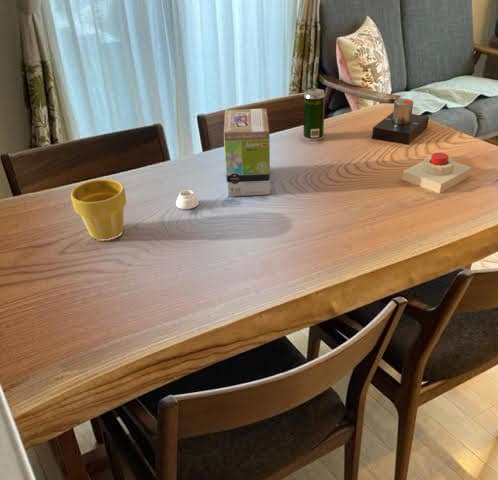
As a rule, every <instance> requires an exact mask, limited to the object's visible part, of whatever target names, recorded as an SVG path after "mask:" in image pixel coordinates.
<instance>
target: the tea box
mask: <svg viewBox="0 0 498 480" xmlns="http://www.w3.org/2000/svg"><path fill="white" fill-rule="evenodd" d="M270 144H271V143H270V126H269V117H268V110H267V108H247V109H245V108H244V109H227V110H225V111H224V123H223V148H224V161H225V162H224V163H225V177H226V192H227V196H228V197H249V196H265V195H270V193H271V153H270V151H271V149H270V148H271V145H270Z"/></svg>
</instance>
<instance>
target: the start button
mask: <svg viewBox="0 0 498 480" xmlns="http://www.w3.org/2000/svg"><path fill="white" fill-rule="evenodd" d="M431 156H432V157H431V164H434V165H440V166H442V165H447V162H448V158H450V157H449V155H448V154H447V153H445V152H434V153H432V154H431Z"/></svg>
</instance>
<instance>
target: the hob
mask: <svg viewBox="0 0 498 480" xmlns="http://www.w3.org/2000/svg"><path fill="white" fill-rule="evenodd" d="M392 119H393V111H392V112H390V114H388V115H387V116H386V117H384V118H383V119H382V120H380V121H379V122H378V123H376V124H375V125H374V126H373V127H372V135H371V139H372V140H373V139H374V140H378V141H384V142H388V143H389V142H390V143H395V144H401V145H407V146H409V145H410V144H411V143H412V142H413V141H414V140H415V139H416V138H417V137H418V136H419V135H421V134H422V133H423V132H424V131H425V130H426V129H427V128H428V126H429V119H430V116H428V115H422V114H415V113H412V117H411V123H409V124H406V125H398V124H395V123H393V122H392Z"/></svg>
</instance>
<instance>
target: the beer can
mask: <svg viewBox="0 0 498 480" xmlns="http://www.w3.org/2000/svg"><path fill="white" fill-rule="evenodd" d="M325 104H326V94H325V90H324V89H321V88H309V89H306V90H305V91H304V95H303V134H302V135H303V138H304V139H305V140H306V141H308V142H309V141H310V142H318V141H321V140H322V139H323V137H324V131H325V130H324V129H325V106H326V105H325Z"/></svg>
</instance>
